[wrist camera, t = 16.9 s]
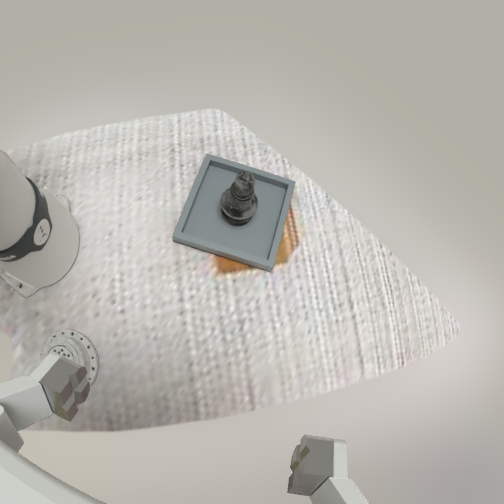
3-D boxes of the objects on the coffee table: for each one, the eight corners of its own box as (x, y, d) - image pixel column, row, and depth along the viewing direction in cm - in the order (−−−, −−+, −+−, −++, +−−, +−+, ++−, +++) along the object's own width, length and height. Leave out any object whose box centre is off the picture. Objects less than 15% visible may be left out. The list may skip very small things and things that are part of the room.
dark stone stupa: (247, 192, 54) (260, 151, 43) (259, 223, 53) (275, 187, 42) (214, 200, 53) (219, 160, 42) (225, 232, 52) (232, 197, 40)
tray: (173, 241, 51) (172, 236, 48) (206, 161, 56) (206, 153, 54) (269, 271, 52) (273, 267, 49) (291, 188, 57) (295, 181, 55)
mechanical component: (111, 372, 43) (78, 318, 45) (103, 374, 39) (68, 315, 40) (66, 402, 40) (35, 349, 42) (55, 406, 36) (22, 348, 37)
